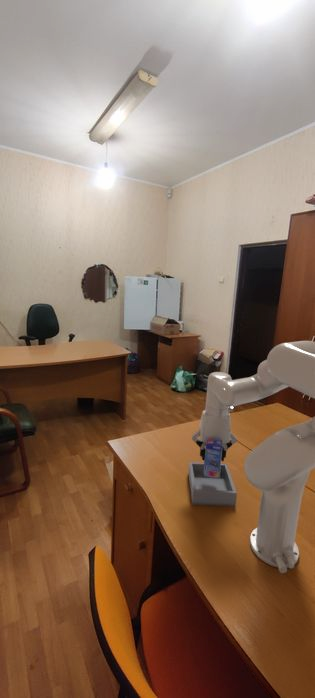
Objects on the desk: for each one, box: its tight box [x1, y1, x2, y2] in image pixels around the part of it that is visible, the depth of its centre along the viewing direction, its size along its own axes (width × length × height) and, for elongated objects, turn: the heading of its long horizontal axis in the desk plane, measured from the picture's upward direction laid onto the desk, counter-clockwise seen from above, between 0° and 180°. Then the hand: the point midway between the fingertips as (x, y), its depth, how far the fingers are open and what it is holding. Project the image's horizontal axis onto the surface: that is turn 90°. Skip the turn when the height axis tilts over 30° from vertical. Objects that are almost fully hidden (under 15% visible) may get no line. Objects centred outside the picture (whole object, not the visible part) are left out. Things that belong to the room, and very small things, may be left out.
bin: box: [187, 461, 238, 508], centre depth 105 cm, size 16×14×5 cm
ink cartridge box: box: [203, 440, 223, 478], centre depth 102 cm, size 10×6×14 cm, turn 170°
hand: (212, 458), depth 103 cm, fingers closed on ink cartridge box, 5 cm apart
